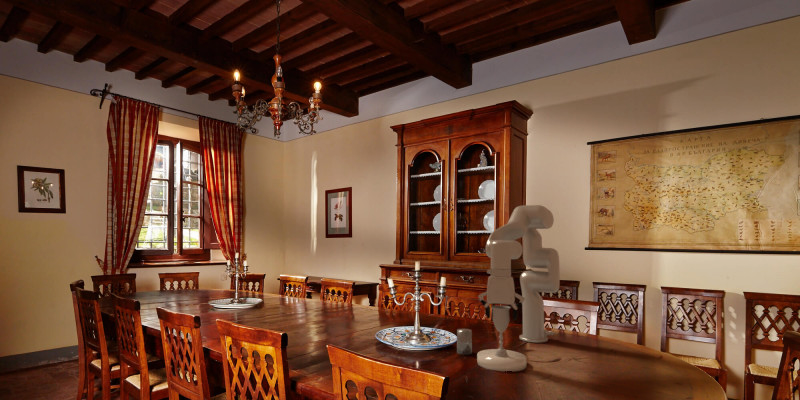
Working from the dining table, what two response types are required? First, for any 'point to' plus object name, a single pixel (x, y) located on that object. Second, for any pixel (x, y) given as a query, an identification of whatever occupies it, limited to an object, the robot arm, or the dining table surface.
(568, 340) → the dining table surface
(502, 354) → the chalice
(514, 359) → the stand
